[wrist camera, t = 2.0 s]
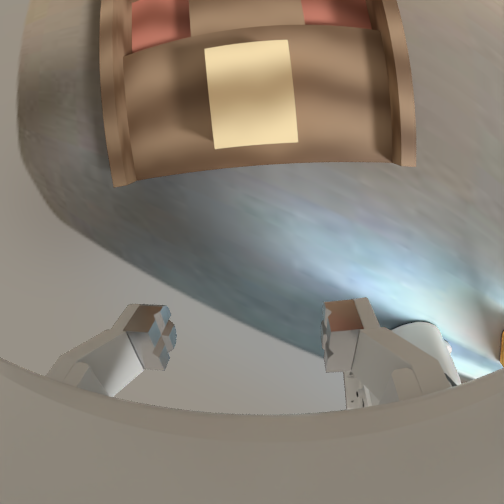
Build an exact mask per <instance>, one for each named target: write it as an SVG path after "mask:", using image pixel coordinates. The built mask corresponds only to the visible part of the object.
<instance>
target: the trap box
mask: <svg viewBox="0 0 504 504" xmlns="http://www.w3.org/2000/svg"><path fill="white" fill-rule="evenodd" d="M271 40H288V45H289V53H290V61H291V70H292V79H293V88H294V98H295V109H296V120H297V132H298V142H296V143H276V144H262V145H249V146H239V147H229V148H220V149H215V148H214V139H213V130H212V121H211V112H210V102H209V93H208V83H207V72H206V62H205V50H204V49H206V48H212V47H218V46H224V45H231V44H239V43H247V42H258V41H271ZM99 61H100V85H101V99H102V110H103V120H104V129H105V137H106V144H107V151H108V157H109V163H110V169H111V175H112V180H113V185H114V188H115V187H120V186H125V185H128V184H130V183H133V182H135V181H138V180H143V179H149V178H155V177H161V176H168V175H175V174H182V173H189V172H197V171H205V170H213V169H222V168H232V167H243V166H255V165H269V164H286V163H310V162H384V163H394V164H397V165H400V166H410V167H416V124H415V106H414V94H413V84H412V76H411V68H410V62H409V55H408V49H407V44H406V39H405V34H404V29H403V25H402V20H401V16H400V12H399V8H398V5H397V1H396V0H101V10H100V32H99Z"/></svg>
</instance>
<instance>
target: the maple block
mask: <svg viewBox="0 0 504 504" xmlns="http://www.w3.org/2000/svg"><path fill="white" fill-rule="evenodd" d="M204 50H205V62H206V72H207V83H208V93H209V102H210V112H211V121H212V130H213V139H214V148H215V149H220V148H229V147H239V146H249V145H262V144H276V143H296V142H298V132H297V120H296V109H295V98H294V88H293V79H292V70H291V61H290V53H289V45H288V40H271V41H258V42H247V43H239V44H231V45H224V46H218V47H212V48H206V49H204Z"/></svg>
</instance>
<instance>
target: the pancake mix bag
mask: <svg viewBox="0 0 504 504" xmlns="http://www.w3.org/2000/svg"><path fill="white" fill-rule="evenodd" d="M500 363H501V364H502V366H503V367H504V330H503V333H502V337H501V353H500Z"/></svg>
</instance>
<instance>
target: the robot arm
mask: <svg viewBox="0 0 504 504" xmlns="http://www.w3.org/2000/svg"><path fill="white" fill-rule="evenodd" d="M322 314H323V321H322V322H321V342H322V349H324V350H325V352H324V362H325V368H326V372H341V371H343V374H344V385H345V397H346V409H347V410H340V411H330V412H319V413H305V414H284V415H283V414H280V415H250V414H248V415H247V414H224V413H211V412H199V411H190V410H182V409H174V408H167V407H161V406H155V405H149V404H143V403H138V402H133V401H128V400H124V399H119V398H115V397H113V396H114V395H115V394H117V393H118V392H119V391H120V390H121V389H122V388H123V387H125V386H126V385H127V384H128V383H129V382H131V381H132V380H133V379H134V378H135V377H136V376H137V375H139V374H140V373H141V372H142V371H143V370H144V369H150V370H162V371H164V370H165V368H166V366H167V364H168V361H169V359H170V357H169V354H168V353H169V352H170V351H172V350H173V349H174V347H175V344H176V336H177V335H176V329H175V326H174V324H173V323H172V322H171V321H170V320H169V318H170V316H171V313H170V311H169V308H168V307H167V306H165V305H145V304H130V305H128V306H127V307H126V309H125V310H124V311H123V313H122V314H121V316H120V317H119V318H118V320H117V321H116V323H115V324H114V325H113V327H112V328H111V330H105V331H104V332H102V333H100V334H98V335H96V336H95V337H93V338H91V339H89V340H88V341H86V342H84V343H82V344H80V345H79V346H77V347H75V348H74V349H72V350H70V351H68V352H66V353H64V354H63V355H61V356H60V357H59V358H58V359H57V361H56V362H55V364H54V365H53V366H52V368H51V369H50V370H49V372H48V373H47V375H46V376H42V375H40V374H37V373H35V372H32V371H30V370H27V369H25V368H23V367H20V366H18V365H16V364H13V363H11V362H9V361H7V360H5V359H3V358H1V357H0V504H504V368H502V369H500V370H497V371H495V372H492V373H490V374H487V375H485V376H482V377H480V378H477V379H474V380H471V381H469V382H466V383H463V384H461V381H460V378H459V375H458V373H457V370H456V367H455V365H454V362H453V360H452V357H451V355H450V353H451V351H452V348H451V346H450V344H449V343H448V342H446V341H445V340H443V338H442V335H441V332H440V330H439V329H438V328H437V327H436V326H435V325H433V324H431V323H426V322H415V323H409V324H405V325H402V326H400V327H397V328H395V329H393V330H389V329H387V328H386V327H380V324H379V322H378V320H377V318H376V315H375V313H374V311H373V309H372V307H371V304H370V302H369V300H368V298H366V297H365V298H356V299H351V300H339V301H327V302H323V305H322Z"/></svg>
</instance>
